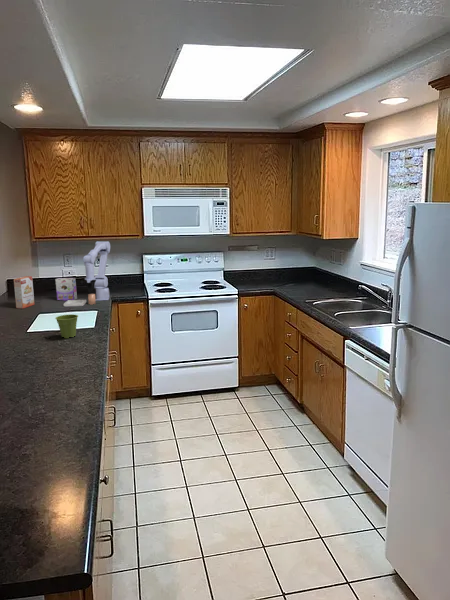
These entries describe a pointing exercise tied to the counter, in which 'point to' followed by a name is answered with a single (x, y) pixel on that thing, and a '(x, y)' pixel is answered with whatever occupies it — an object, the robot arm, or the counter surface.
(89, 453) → the counter surface
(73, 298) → the candy box
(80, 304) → the tray
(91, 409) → the counter surface
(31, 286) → the cracker box
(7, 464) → the counter surface
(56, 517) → the counter surface
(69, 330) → the plant pot
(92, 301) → the peach small lump
